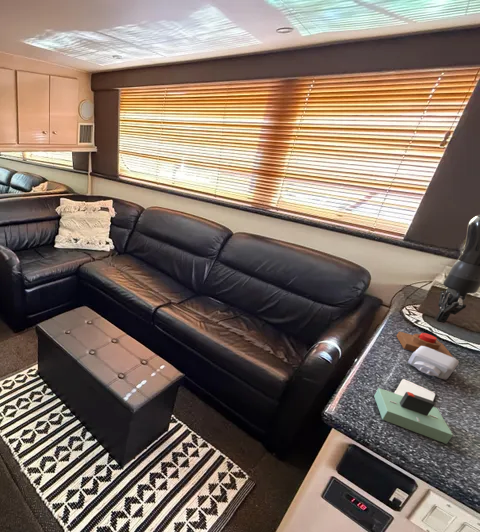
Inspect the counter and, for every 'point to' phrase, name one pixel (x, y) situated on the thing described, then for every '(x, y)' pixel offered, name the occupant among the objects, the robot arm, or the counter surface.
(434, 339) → the power button
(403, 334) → the button block
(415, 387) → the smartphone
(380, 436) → the counter surface
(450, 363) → the charger
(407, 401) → the black block
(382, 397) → the panel
